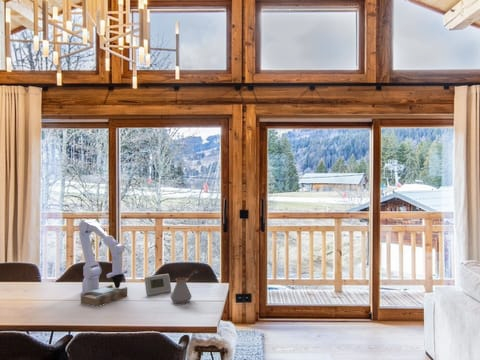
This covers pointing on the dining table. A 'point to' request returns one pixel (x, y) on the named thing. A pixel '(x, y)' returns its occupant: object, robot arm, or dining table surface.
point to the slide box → (103, 296)
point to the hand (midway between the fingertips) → (117, 287)
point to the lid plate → (102, 291)
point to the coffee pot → (181, 291)
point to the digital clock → (157, 284)
